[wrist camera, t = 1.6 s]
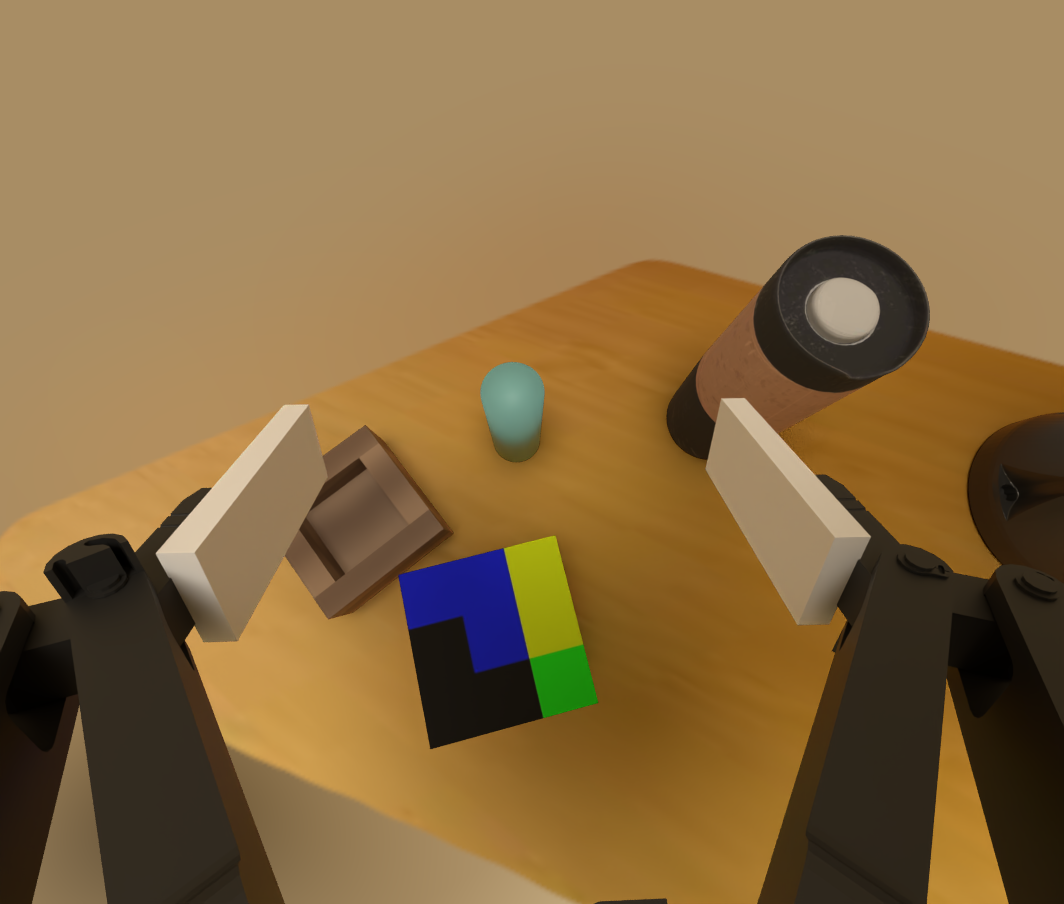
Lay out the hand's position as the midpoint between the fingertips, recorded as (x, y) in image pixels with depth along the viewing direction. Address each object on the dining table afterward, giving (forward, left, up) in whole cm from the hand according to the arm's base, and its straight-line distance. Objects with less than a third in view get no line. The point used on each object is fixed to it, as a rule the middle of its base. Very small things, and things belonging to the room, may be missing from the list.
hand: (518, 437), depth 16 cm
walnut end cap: (+7, +10, -26) cm, 29 cm away
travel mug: (-4, -18, -26) cm, 32 cm away
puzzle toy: (-5, +6, -26) cm, 27 cm away
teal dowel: (+5, -4, -26) cm, 27 cm away
